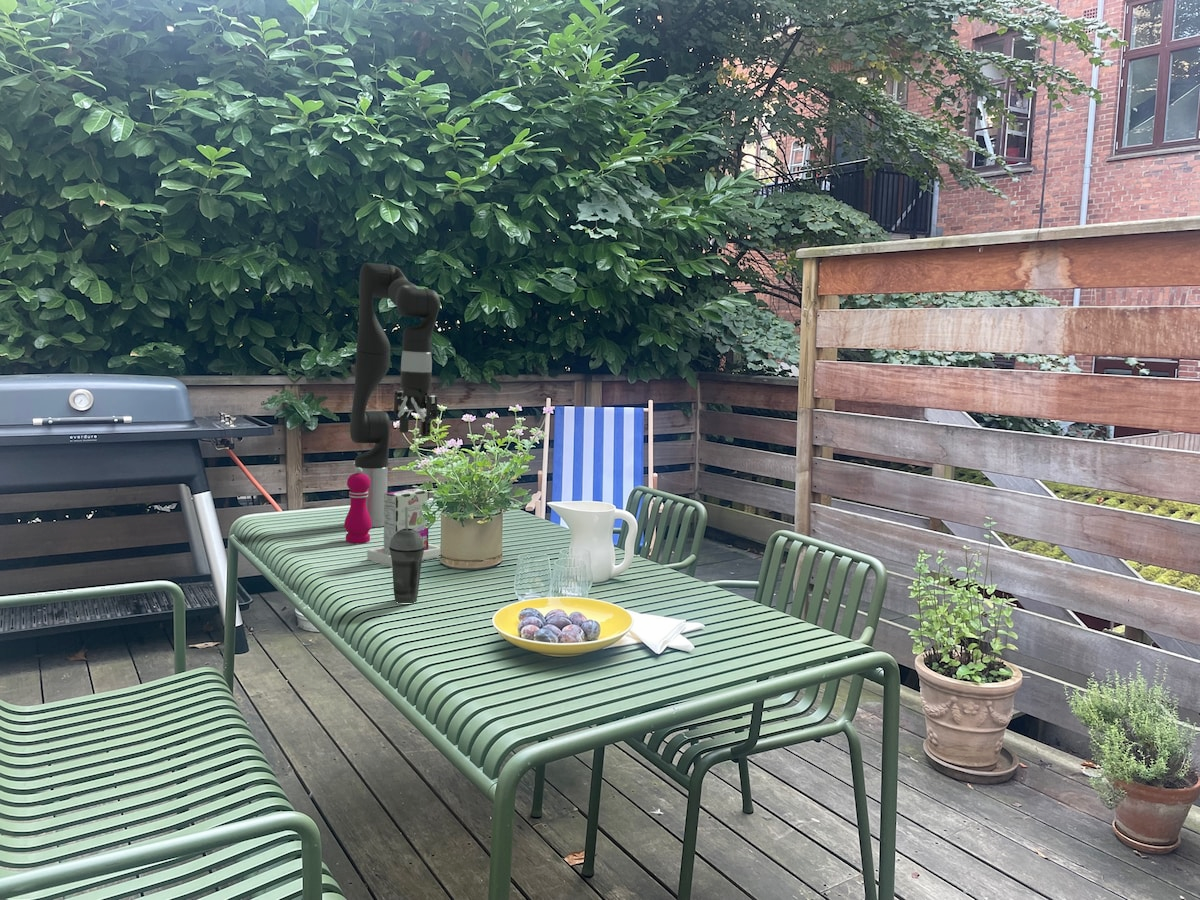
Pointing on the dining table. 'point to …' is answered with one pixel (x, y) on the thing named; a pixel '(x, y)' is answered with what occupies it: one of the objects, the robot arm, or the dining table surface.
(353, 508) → the pepper mill
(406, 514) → the beverage cup
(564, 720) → the dining table surface
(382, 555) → the tray
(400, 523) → the candy bar box
